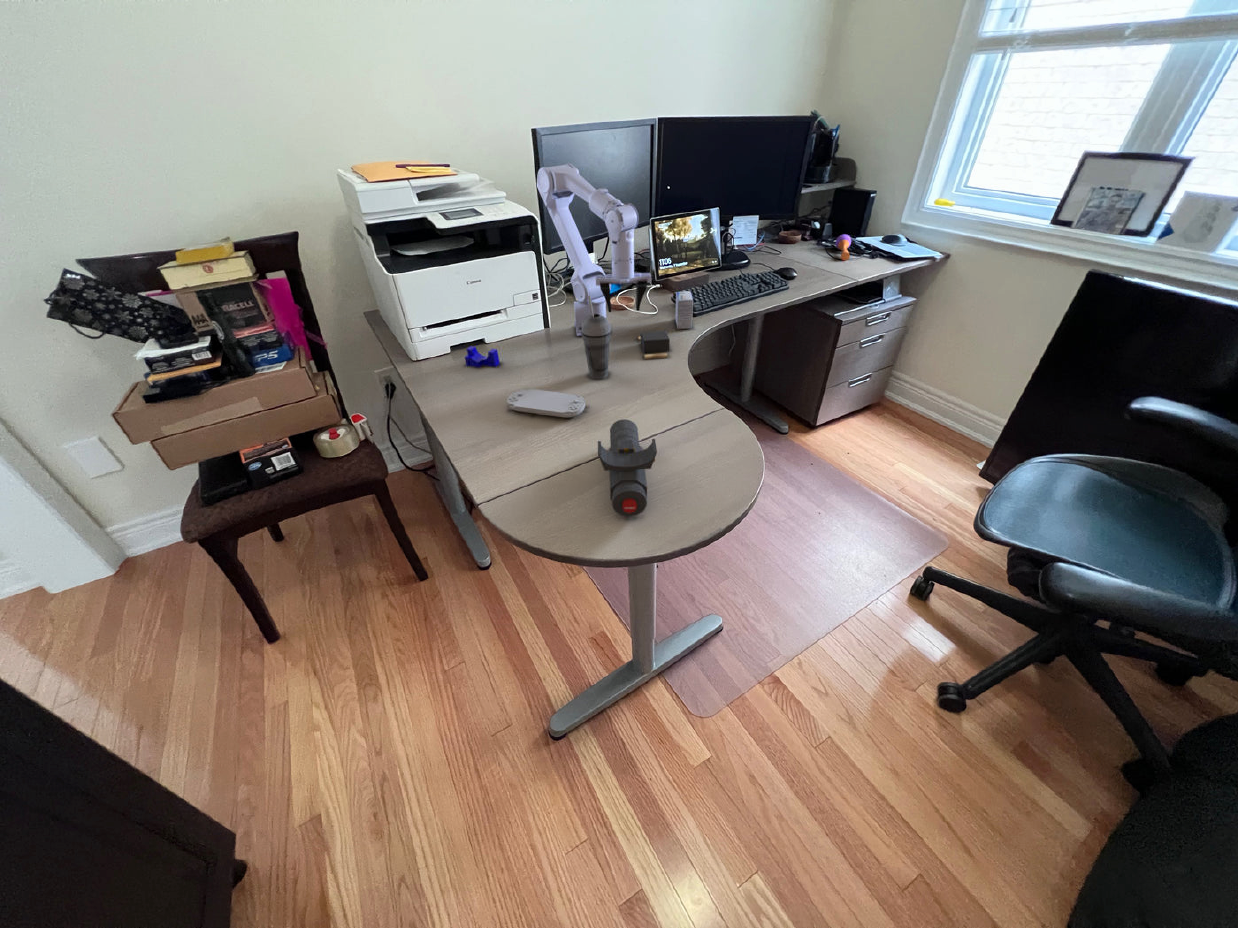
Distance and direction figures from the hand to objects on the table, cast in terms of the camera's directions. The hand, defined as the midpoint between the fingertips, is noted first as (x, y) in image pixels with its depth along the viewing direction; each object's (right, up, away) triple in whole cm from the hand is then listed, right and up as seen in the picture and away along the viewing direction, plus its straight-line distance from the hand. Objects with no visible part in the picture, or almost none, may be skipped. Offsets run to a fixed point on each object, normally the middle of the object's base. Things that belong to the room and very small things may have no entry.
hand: (623, 310), depth 134 cm
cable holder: (-37, -16, -3) cm, 41 cm away
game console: (-18, -29, -22) cm, 41 cm away
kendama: (+92, +45, +70) cm, 124 cm away
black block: (+9, -10, +2) cm, 13 cm away
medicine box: (+18, 0, +15) cm, 24 cm away
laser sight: (0, -45, -43) cm, 62 cm away
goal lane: (+8, -10, +2) cm, 13 cm away
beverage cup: (-6, -20, -10) cm, 23 cm away
